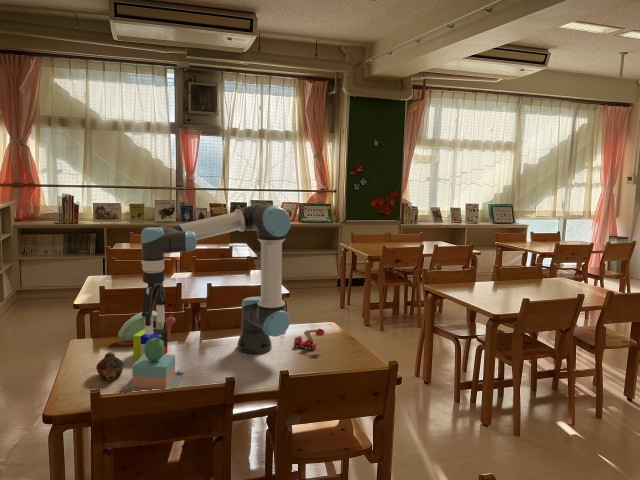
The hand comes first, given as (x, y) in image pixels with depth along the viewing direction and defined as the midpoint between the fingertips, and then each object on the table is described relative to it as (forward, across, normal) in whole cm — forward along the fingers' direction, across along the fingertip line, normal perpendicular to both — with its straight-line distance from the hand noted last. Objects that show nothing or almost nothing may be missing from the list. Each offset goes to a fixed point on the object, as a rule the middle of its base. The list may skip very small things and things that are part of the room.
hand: (155, 327), depth 193 cm
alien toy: (+12, 0, 0) cm, 13 cm away
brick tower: (+21, 0, -1) cm, 21 cm away
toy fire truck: (+23, -42, +55) cm, 73 cm away
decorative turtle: (+21, -3, -18) cm, 28 cm away
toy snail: (+22, -44, -18) cm, 52 cm away
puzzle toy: (+22, -27, -11) cm, 36 cm away
